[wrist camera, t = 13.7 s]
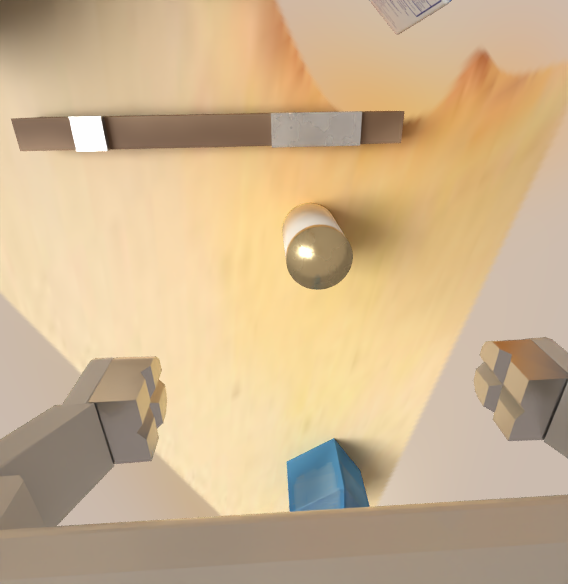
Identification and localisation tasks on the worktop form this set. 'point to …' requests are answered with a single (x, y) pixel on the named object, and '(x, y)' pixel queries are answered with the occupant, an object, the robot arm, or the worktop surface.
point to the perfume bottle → (325, 480)
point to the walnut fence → (209, 130)
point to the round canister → (315, 247)
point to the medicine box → (406, 11)
